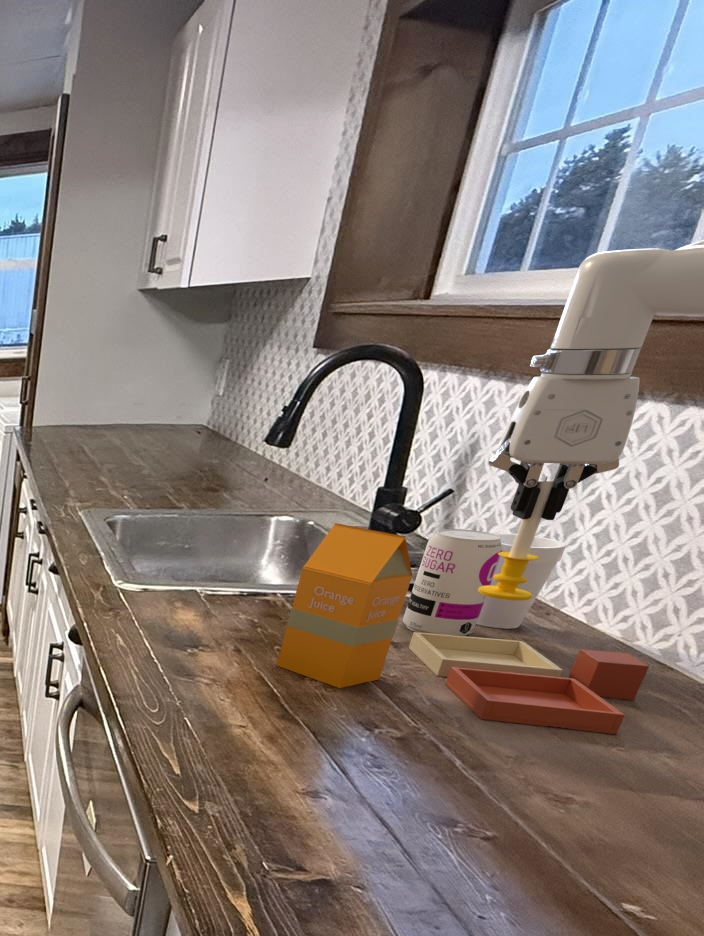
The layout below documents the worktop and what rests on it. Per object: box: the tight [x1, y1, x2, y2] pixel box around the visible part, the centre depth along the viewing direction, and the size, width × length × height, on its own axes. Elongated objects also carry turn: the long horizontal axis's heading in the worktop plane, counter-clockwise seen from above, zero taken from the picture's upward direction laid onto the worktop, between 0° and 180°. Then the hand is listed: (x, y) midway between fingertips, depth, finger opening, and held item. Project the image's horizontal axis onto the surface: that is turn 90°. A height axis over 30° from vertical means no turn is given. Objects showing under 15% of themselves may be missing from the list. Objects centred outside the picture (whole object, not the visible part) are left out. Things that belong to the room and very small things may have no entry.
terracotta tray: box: [444, 667, 626, 735], centre depth 101 cm, size 12×11×2 cm
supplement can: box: [402, 528, 503, 636], centre depth 123 cm, size 8×8×15 cm
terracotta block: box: [567, 648, 650, 701], centre depth 104 cm, size 5×5×5 cm
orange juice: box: [276, 522, 413, 689], centre depth 110 cm, size 8×9×20 cm
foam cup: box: [476, 532, 567, 630], centre depth 126 cm, size 10×9×13 cm
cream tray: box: [408, 631, 564, 678], centre depth 113 cm, size 12×11×2 cm
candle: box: [478, 476, 553, 601], centre depth 106 cm, size 5×5×16 cm
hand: (532, 516), depth 105 cm, fingers closed on candle
